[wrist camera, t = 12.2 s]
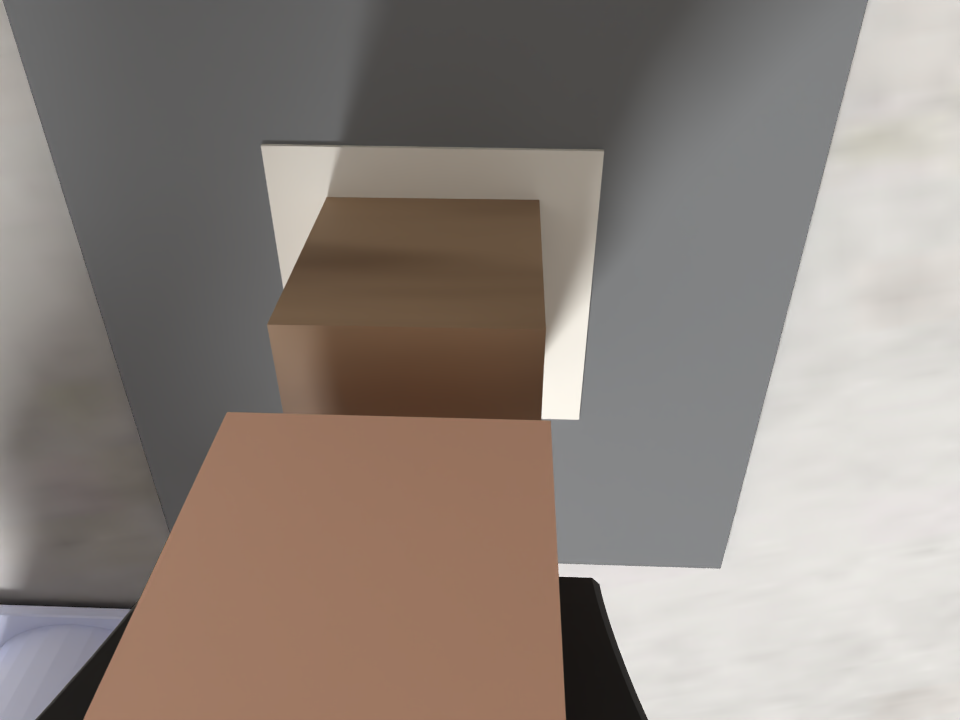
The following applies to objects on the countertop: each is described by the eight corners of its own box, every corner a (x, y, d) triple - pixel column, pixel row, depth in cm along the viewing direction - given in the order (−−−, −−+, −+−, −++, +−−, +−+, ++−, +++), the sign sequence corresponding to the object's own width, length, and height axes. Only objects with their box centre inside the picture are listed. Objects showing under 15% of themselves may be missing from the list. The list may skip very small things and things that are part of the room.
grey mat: (717, 557, 24) (720, 571, 23) (180, 540, 24) (174, 553, 24) (903, -174, 14) (915, -174, 13) (-40, -179, 14) (-58, -178, 14)
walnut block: (532, 372, 20) (535, 526, 16) (347, 369, 20) (302, 520, 16) (539, 200, 17) (546, 329, 13) (326, 197, 17) (266, 324, 13)
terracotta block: (536, 625, 14) (544, 980, 10) (273, 617, 14) (171, 962, 10) (550, 421, 11) (569, 785, 7) (227, 412, 11) (61, 765, 7)
